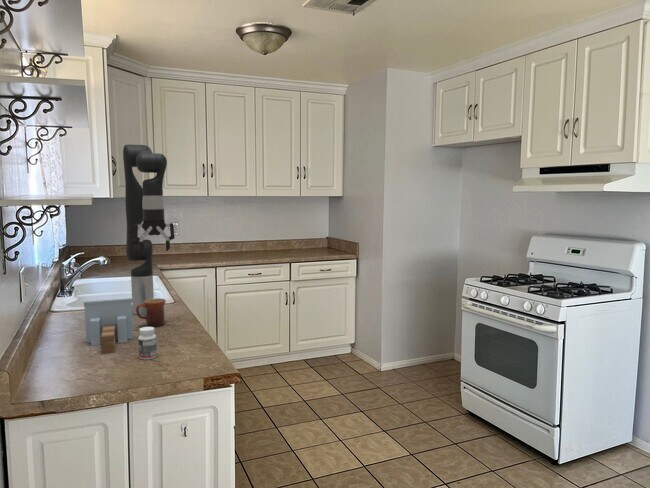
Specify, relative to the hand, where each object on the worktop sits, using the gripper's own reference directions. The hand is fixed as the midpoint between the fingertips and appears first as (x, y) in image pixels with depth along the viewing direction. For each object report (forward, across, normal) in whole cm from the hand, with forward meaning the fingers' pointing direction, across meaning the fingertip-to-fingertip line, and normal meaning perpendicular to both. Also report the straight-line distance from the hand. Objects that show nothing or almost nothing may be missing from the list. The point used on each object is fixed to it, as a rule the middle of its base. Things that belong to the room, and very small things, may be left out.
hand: (155, 251), depth 185 cm
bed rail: (+33, +17, +6) cm, 38 cm away
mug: (+33, +2, -17) cm, 37 cm away
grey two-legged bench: (+33, +17, 0) cm, 37 cm away
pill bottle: (+33, +4, +22) cm, 40 cm away
